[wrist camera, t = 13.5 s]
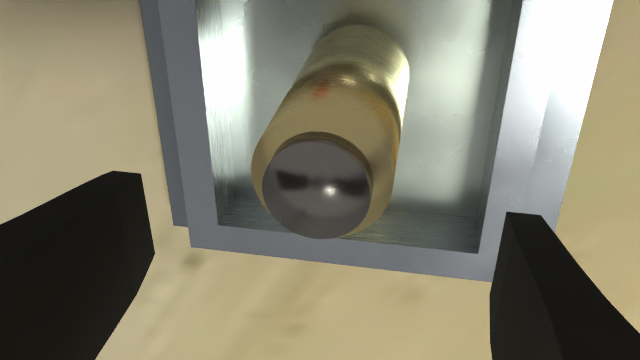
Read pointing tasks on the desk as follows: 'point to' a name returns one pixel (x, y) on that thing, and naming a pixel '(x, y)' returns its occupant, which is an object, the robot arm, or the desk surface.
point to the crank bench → (417, 128)
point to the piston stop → (335, 136)
